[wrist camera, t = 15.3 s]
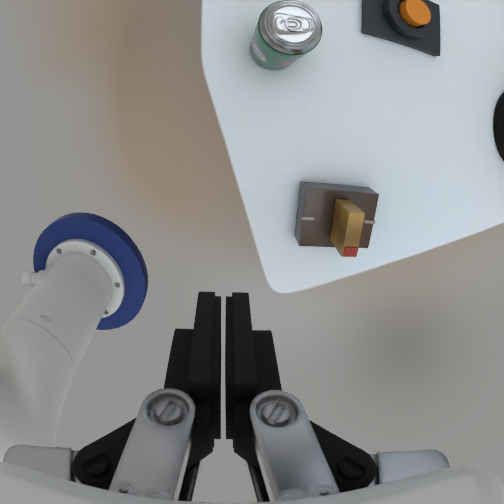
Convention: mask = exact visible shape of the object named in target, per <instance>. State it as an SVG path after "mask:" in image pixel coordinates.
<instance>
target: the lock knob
mask: <svg viewBox="0 0 504 504" xmlns="http://www.w3.org/2000/svg"><path fill="white" fill-rule="evenodd" d="M364 216H365V213H364V212H363V211H362V210H361V209H360V208H359V207H357V206H356V205H355V204H354V203H353V202H352V201H351V200H341V199H336V203H335V210H334V216H333V223H332V229H331V235H330V240H331V242H332V243H333V245H334V246H335V248H336V249H337V251H338V252H339V254H340V255H341V256H342V257H356V256H357V251H358V247H359V242H360V237H361V232H362V227H363V222H364Z"/></svg>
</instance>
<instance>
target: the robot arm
mask: <svg viewBox="0 0 504 504" xmlns="http://www.w3.org/2000/svg"><path fill="white" fill-rule="evenodd" d="M21 280H22V283H23V284H25V285H36V286H35V287H34V288H33V289H32V290H31V291H30V293H29V294H28V295H27V296H26V298H25V299H24V300H23V301H22V302H21V304H20V305H19V306H18V307H17V309H16V310H15V311H14V313H13V314H12V315H11V316H10V318H9V319H8V320H7V322H6V323H5V324H4V326H3V327H2V329H1V330H0V504H504V486H503V485H502V483H501V482H500V481H499V479H498V478H497V477H496V476H495V475H494V474H493V473H491V472H490V471H488V470H485V469H482V468H477V467H467V466H459V467H449V463H448V460H447V458H446V457H445V455H444V454H443V453H441V452H439V451H437V450H417V451H397V452H378V453H377V454H376V455H375V454H370V455H369V454H368V453H366V452H365V451H363V450H361V449H359V448H358V447H356V446H354V445H352V444H350V443H348V442H347V441H345V440H343V439H341V438H339V437H338V436H336V435H334V434H332V433H330V432H329V431H327V430H325V429H323V428H322V427H320V426H318V425H317V424H315V423H313V422H312V421H310V420H309V419H308V416H307V414H306V412H305V409H304V407H303V405H302V403H301V402H300V400H299V399H298V398H296V397H295V396H294V395H292V394H290V393H288V392H285V391H282V389H281V384H280V377H279V372H278V366H277V361H276V355H275V349H274V344H273V337H272V333H271V331H269V330H268V331H267V330H266V331H263V330H261V331H259V330H257V331H256V330H254V331H253V330H252V325H251V314H250V305H249V294H248V293H232V297H226V344H225V345H226V347H225V349H226V350H225V361H226V362H225V377H226V378H225V380H226V381H225V382H226V384H225V385H226V439H233V448H234V452H235V453H237V454H238V455H239V456H240V457H242V458H243V459H244V460H245V466H246V470H247V474H248V477H249V481H250V485H251V489H252V493H253V496H254V500H255V503H204V502H194V501H195V496H196V491H197V487H198V482H199V477H200V473H201V468H202V463H203V458H205V457H206V456H207V455H209V454H210V453H211V452H212V451H213V447H214V439H220V438H221V428H220V427H221V409H220V408H221V297H220V296H215V292H199V294H198V301H197V309H196V315H195V323H194V329H175V332H174V337H173V341H172V346H171V352H170V357H169V362H168V368H167V373H166V379H165V385H164V389H159V390H157V391H154V392H152V393H151V394H149V395H148V396H147V397H146V398H145V400H144V401H143V403H142V406H141V408H140V410H139V413H138V415H137V418H135V419H133V420H132V421H130V422H128V423H126V424H125V425H123V426H121V427H120V428H118V429H116V430H114V431H113V432H111V433H109V434H108V435H106V436H104V437H102V438H100V439H98V440H97V441H95V442H93V443H91V444H89V445H87V446H85V447H84V448H82V449H81V450H80V451H73V450H72V449H71V448H60V447H55V441H56V434H57V427H58V422H59V418H60V414H61V410H62V407H63V404H64V401H65V398H66V396H67V393H68V390H69V388H70V385H71V383H72V381H73V378H74V376H75V373H76V371H77V369H78V367H79V364H80V362H81V360H82V358H83V355H84V353H85V351H86V349H87V347H88V345H89V343H90V340H91V338H92V336H93V334H94V332H95V330H96V328H97V326H98V324H99V322H100V320H101V318H105V317H107V316H109V315H111V314H113V313H114V312H115V311H116V310H117V309H118V308H119V306H120V304H121V302H122V300H123V297H124V294H125V282H124V277H123V274H122V271H121V270H120V268H119V266H118V264H117V263H116V261H115V260H114V258H113V257H112V256H111V255H110V254H109V253H108V252H107V251H106V250H104V249H103V248H102V247H100V246H99V245H97V244H95V243H93V242H91V241H87V240H84V239H68V240H66V241H63V242H61V243H60V244H58V245H57V246H56V247H55V248H54V249H53V250H52V251H51V253H50V254H49V256H48V259H47V262H46V269H45V270H40V271H39V272H38V273H35V272H28V271H24V272H23V273H22V276H21Z"/></svg>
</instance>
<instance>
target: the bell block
mask: <svg viewBox="0 0 504 504" xmlns="http://www.w3.org/2000/svg"><path fill="white" fill-rule="evenodd" d="M403 1H405V0H362V33H364V34H368V35H372V36H376V37H379V38H383V39H386V40H390V41H393V42H396V43H399V44H402V45H405V46H408V47H411V48H414V49H417V50H420V51H423V52H425V53H428V54H431V55H433V56H440V11H439V5H438V4H435V3H433V2H431V1H429V0H421V1H423V2H424V3H425V4H426V5H427V7H428V8H429V10H430V13H431V19H430V21H429V23H427V24H425V25H421V26H417V27H415V26H411V25H409V24H408V23H406V22H405V21H404V20H403V18H402V17H401V15H400V12H399V6H400V4H401V2H403Z"/></svg>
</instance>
